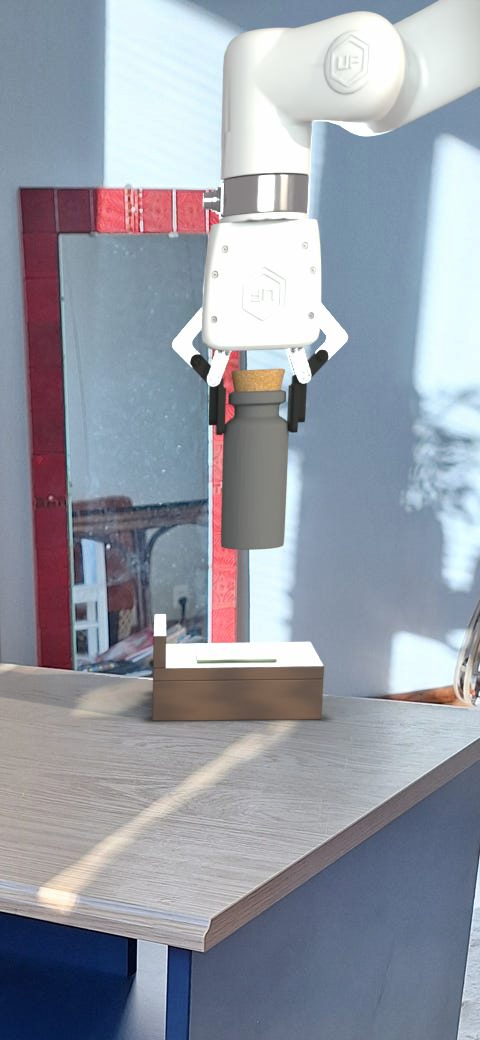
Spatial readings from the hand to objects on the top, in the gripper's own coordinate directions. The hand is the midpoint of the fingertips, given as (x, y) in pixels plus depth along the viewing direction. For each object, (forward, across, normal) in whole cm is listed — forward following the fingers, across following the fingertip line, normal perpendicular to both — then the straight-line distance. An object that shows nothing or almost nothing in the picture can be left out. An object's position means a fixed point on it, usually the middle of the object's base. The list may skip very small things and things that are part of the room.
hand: (256, 431), depth 133 cm
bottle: (+10, 0, 0) cm, 10 cm away
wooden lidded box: (+26, -1, +4) cm, 26 cm away
